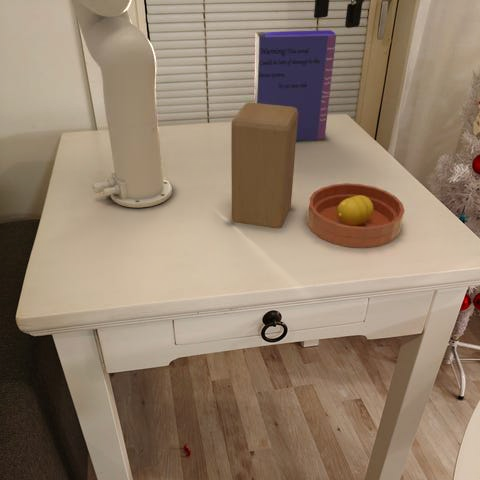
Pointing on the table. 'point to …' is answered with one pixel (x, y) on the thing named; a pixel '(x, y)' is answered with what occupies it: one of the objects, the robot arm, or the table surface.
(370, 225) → the fruit bowl
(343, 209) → the lemon
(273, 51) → the purple book
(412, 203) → the table surface
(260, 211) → the wooden block
